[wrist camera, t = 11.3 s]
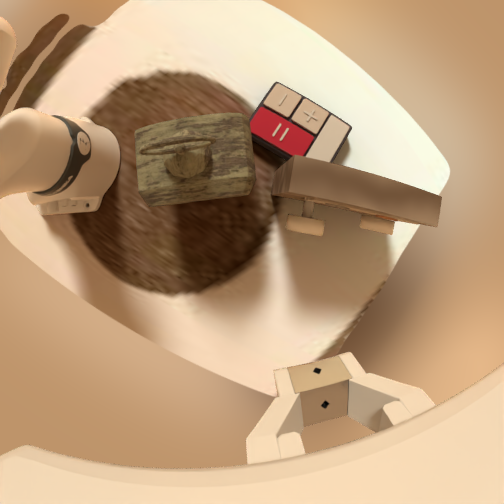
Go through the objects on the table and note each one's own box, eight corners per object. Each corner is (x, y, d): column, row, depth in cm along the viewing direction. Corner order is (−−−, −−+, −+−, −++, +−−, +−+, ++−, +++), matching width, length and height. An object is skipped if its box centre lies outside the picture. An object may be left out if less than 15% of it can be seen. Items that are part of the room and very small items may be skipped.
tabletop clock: (248, 142, 44) (255, 83, 20) (253, 195, 46) (267, 189, 21) (164, 153, 44) (92, 114, 19) (168, 205, 46) (97, 213, 21)
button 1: (316, 232, 41) (327, 237, 36) (283, 226, 41) (289, 230, 35) (324, 188, 40) (335, 187, 35) (290, 181, 39) (297, 179, 34)
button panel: (376, 219, 47) (436, 231, 30) (270, 197, 46) (288, 196, 28) (380, 195, 47) (441, 196, 29) (274, 171, 45) (294, 154, 28)
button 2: (382, 232, 41) (398, 236, 36) (354, 226, 41) (368, 229, 36) (389, 191, 40) (406, 191, 35) (361, 183, 40) (376, 182, 35)
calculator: (276, 78, 39) (354, 125, 40) (274, 88, 43) (346, 131, 45) (241, 129, 41) (323, 178, 42) (242, 136, 45) (317, 181, 46)
